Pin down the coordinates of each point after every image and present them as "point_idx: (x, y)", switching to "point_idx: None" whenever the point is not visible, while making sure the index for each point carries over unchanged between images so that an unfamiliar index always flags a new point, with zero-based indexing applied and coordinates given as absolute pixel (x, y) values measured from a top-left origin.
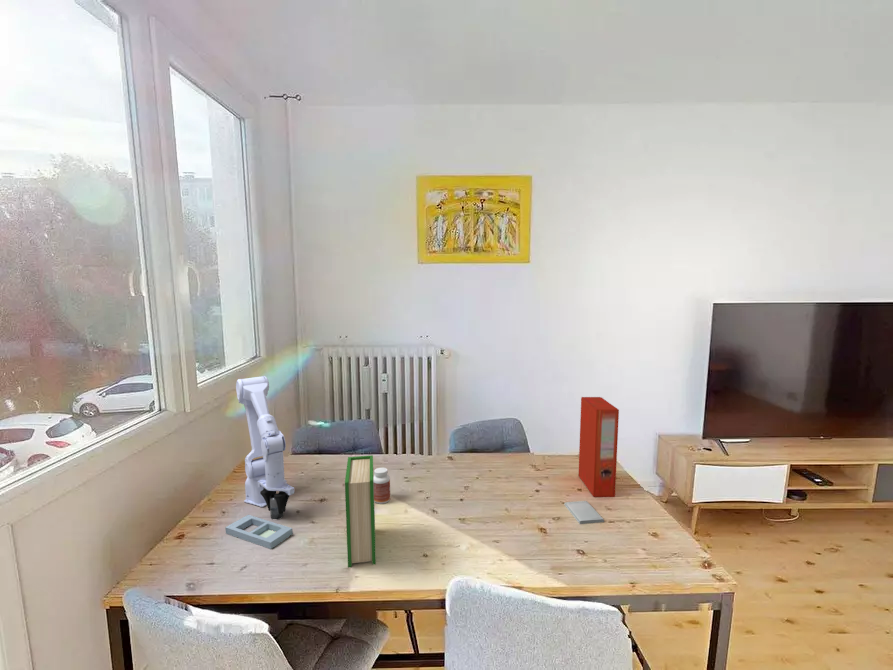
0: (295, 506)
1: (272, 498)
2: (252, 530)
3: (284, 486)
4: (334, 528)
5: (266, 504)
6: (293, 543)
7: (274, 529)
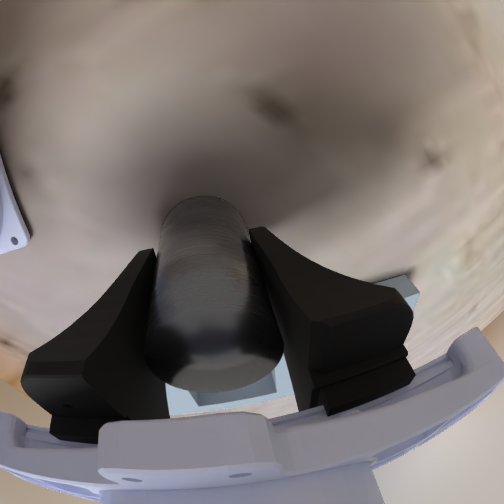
0: (183, 69)
1: (228, 385)
2: (278, 385)
3: (405, 449)
4: (501, 161)
5: (19, 215)
6: (428, 295)
7: None
